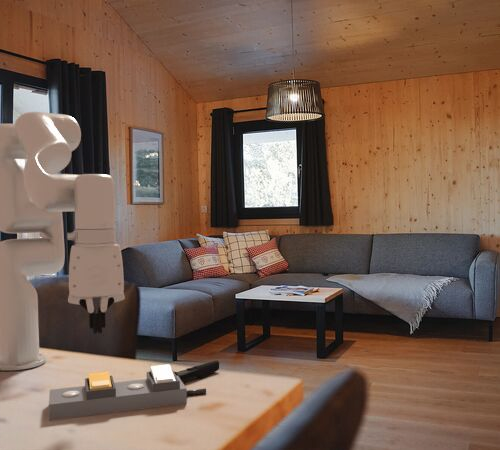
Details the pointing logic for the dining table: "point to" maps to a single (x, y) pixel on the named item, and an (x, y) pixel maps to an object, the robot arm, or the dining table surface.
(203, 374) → the electric trimmer
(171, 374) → the white rocker switch
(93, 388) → the amber rocker
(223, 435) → the dining table surface
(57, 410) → the power strip
